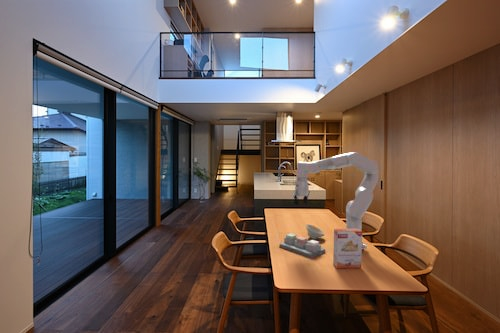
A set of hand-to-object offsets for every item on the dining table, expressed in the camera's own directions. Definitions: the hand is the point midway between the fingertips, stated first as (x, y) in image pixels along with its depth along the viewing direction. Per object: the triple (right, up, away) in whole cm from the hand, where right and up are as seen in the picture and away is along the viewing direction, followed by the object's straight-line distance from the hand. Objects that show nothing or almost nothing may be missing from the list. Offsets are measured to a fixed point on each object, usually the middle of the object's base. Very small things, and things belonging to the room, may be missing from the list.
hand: (300, 203), depth 180 cm
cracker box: (+19, -30, -36) cm, 51 cm away
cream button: (+4, -25, -17) cm, 30 cm away
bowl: (+13, -28, +11) cm, 33 cm away
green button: (-7, -24, -4) cm, 25 cm away
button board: (-1, -29, -10) cm, 31 cm away
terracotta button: (-1, -24, -11) cm, 26 cm away
